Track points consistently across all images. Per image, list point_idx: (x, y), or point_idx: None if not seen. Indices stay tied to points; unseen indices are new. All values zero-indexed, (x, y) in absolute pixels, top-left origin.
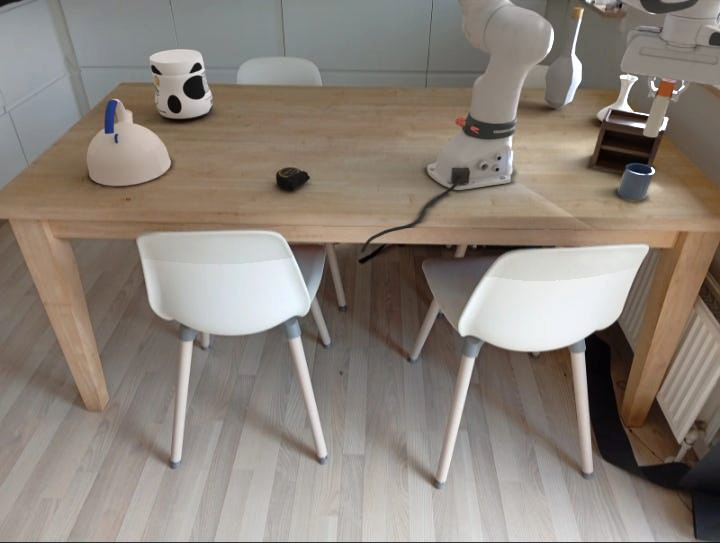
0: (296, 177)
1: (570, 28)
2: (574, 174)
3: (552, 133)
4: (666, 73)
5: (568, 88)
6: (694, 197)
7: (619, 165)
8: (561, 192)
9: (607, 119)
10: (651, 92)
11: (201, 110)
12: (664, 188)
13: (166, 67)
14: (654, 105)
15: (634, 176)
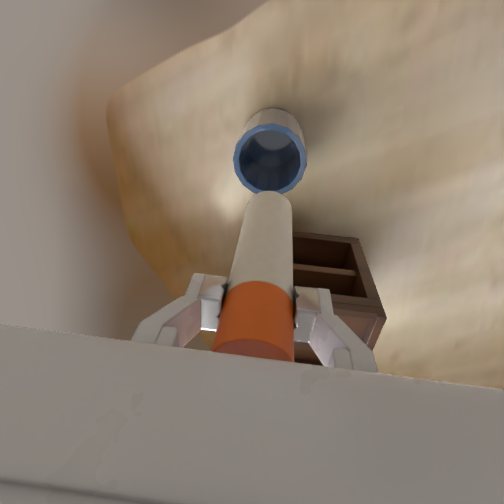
0: None
1: None
2: (395, 198)
3: (418, 353)
4: (282, 384)
5: None
6: (151, 185)
7: (299, 256)
8: (444, 84)
9: (364, 334)
10: (321, 302)
11: None
12: (208, 203)
13: None
14: (286, 261)
15: (281, 123)
